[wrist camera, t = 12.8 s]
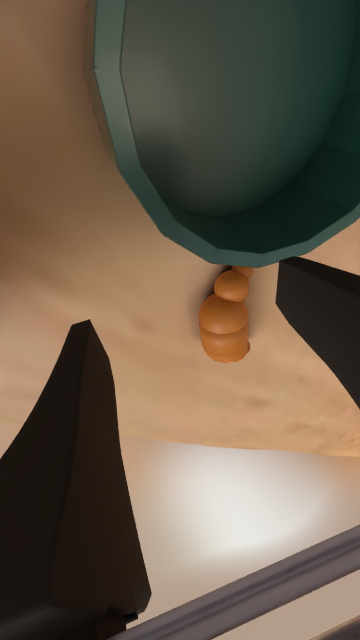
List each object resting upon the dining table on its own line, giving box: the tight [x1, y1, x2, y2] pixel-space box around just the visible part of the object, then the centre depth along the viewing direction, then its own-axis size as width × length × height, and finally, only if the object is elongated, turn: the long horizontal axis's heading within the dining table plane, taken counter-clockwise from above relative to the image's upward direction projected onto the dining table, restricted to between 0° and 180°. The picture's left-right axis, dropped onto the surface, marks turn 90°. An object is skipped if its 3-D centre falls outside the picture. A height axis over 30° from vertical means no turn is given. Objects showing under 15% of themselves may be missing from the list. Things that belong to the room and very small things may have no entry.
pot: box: [84, 0, 360, 268], centre depth 12 cm, size 15×15×6 cm
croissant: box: [199, 265, 253, 363], centre depth 23 cm, size 10×5×4 cm, turn 8°
